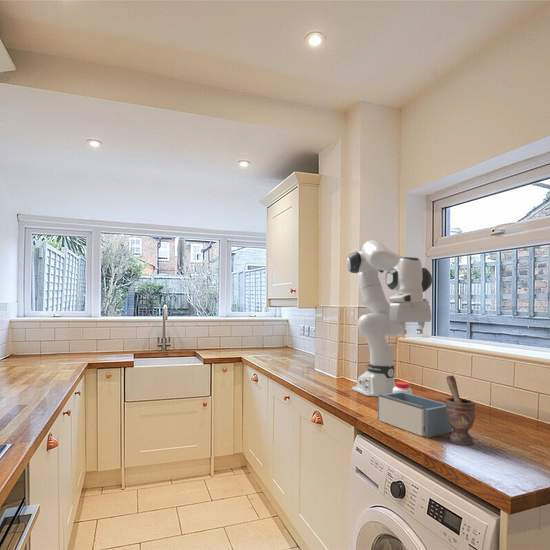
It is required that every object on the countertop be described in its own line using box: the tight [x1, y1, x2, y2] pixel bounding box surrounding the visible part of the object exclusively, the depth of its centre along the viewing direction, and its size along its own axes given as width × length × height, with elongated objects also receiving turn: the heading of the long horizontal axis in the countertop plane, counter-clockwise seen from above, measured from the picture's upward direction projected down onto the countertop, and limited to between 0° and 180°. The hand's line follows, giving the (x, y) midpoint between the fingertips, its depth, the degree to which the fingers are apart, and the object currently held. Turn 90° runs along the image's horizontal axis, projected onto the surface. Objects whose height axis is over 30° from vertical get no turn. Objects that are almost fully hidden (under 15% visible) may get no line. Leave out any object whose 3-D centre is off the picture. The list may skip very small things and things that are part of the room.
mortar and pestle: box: [445, 375, 476, 447], centre depth 130 cm, size 12×9×20 cm
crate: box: [377, 392, 453, 439], centre depth 144 cm, size 22×13×9 cm, turn 31°
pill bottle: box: [393, 381, 413, 395], centre depth 164 cm, size 8×8×11 cm
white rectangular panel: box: [379, 394, 425, 437], centre depth 140 cm, size 19×1×10 cm, turn 31°
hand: (411, 334), depth 152 cm, fingers open, 8 cm apart
